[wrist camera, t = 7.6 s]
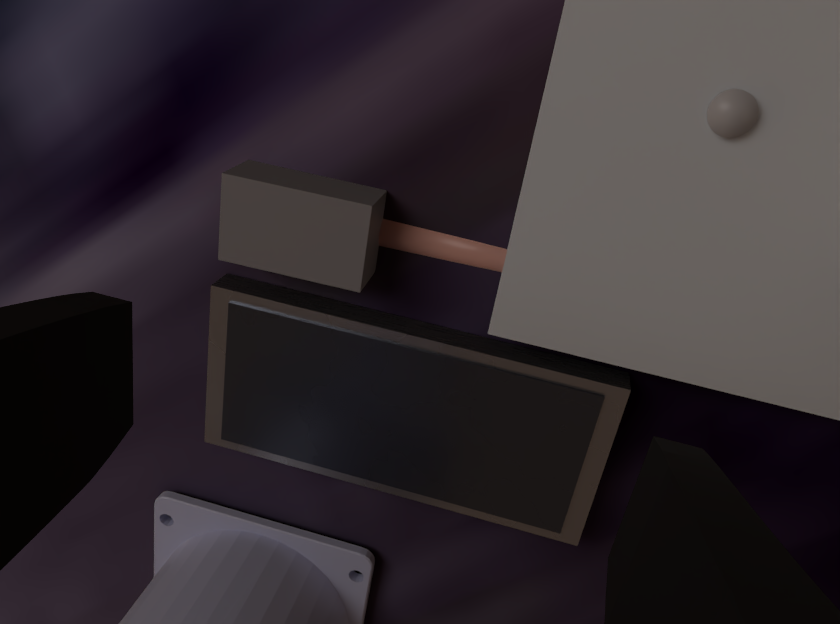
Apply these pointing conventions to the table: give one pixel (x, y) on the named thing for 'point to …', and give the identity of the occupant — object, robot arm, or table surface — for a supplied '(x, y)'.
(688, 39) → the outlet plate
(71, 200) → the table surface
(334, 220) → the cable plug
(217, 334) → the phone
